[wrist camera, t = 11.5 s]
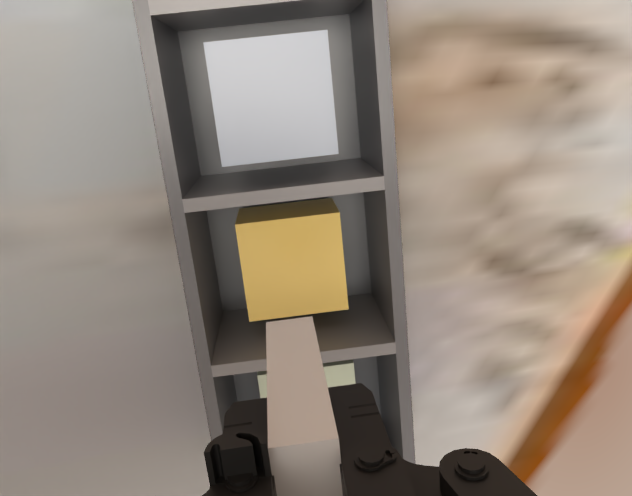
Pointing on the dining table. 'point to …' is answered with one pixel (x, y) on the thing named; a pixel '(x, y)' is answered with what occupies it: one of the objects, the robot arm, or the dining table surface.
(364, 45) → the compartment tray
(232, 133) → the key
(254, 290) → the key
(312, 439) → the robot arm
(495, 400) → the dining table surface
